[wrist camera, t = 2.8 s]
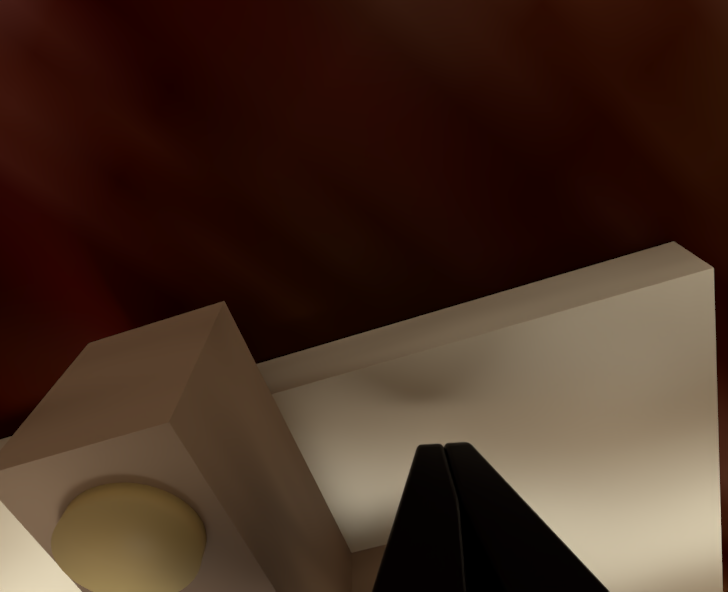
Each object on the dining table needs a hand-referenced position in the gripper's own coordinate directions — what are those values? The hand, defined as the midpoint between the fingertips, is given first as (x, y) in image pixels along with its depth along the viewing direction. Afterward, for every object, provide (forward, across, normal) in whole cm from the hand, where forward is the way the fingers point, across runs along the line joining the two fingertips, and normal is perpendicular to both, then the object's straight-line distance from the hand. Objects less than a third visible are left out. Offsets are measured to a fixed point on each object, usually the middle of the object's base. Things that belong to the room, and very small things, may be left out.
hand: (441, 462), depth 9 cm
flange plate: (+1, +3, +4) cm, 5 cm away
